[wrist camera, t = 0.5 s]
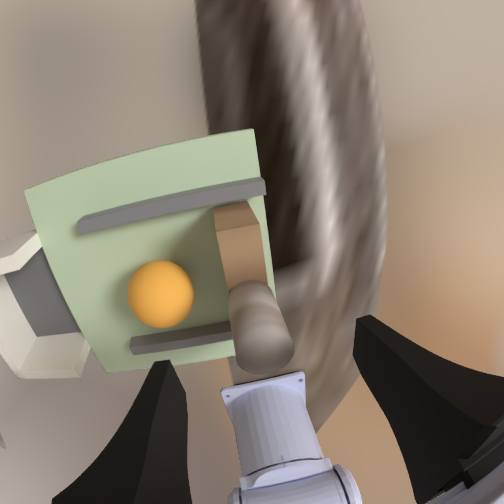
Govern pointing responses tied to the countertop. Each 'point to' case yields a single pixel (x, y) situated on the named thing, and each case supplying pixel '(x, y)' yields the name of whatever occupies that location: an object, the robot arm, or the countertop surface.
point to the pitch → (125, 258)
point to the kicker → (250, 292)
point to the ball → (161, 294)
